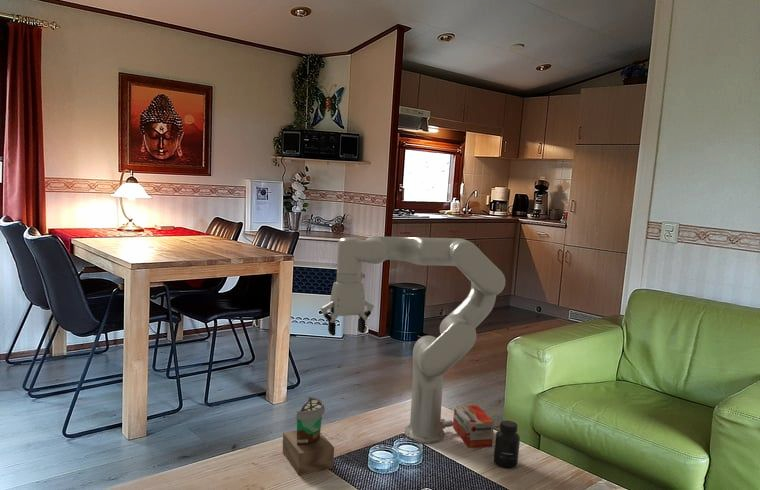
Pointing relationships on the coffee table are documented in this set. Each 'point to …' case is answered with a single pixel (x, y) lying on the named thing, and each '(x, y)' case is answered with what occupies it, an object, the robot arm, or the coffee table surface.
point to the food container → (309, 422)
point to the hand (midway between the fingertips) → (346, 333)
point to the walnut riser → (308, 454)
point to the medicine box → (473, 426)
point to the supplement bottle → (507, 445)
